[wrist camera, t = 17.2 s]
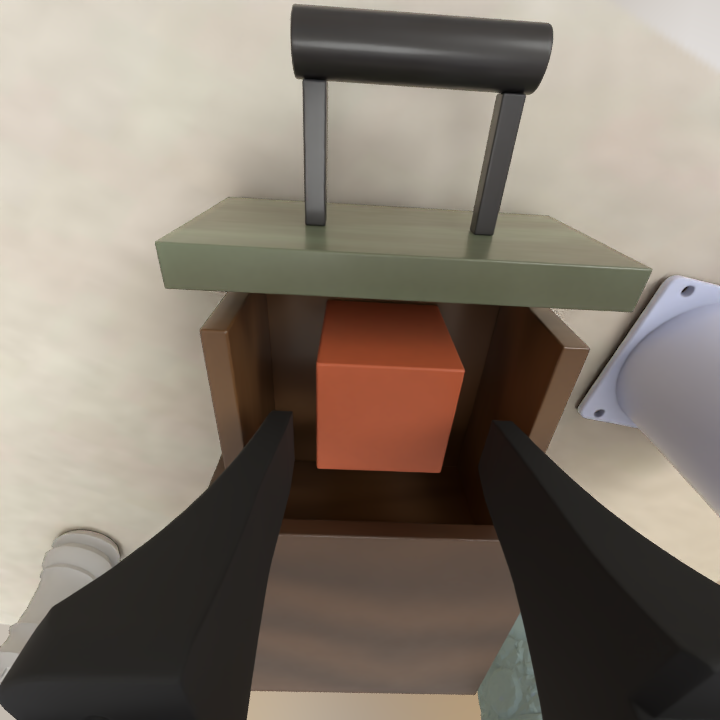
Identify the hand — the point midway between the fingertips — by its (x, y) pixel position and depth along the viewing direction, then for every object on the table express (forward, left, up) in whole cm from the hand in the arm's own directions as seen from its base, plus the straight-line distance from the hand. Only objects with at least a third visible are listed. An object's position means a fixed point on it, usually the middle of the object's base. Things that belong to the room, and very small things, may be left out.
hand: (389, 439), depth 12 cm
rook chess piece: (+16, +21, -8) cm, 27 cm away
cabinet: (-2, +11, -7) cm, 14 cm away
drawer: (0, -1, -7) cm, 7 cm away
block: (0, 0, -6) cm, 6 cm away
